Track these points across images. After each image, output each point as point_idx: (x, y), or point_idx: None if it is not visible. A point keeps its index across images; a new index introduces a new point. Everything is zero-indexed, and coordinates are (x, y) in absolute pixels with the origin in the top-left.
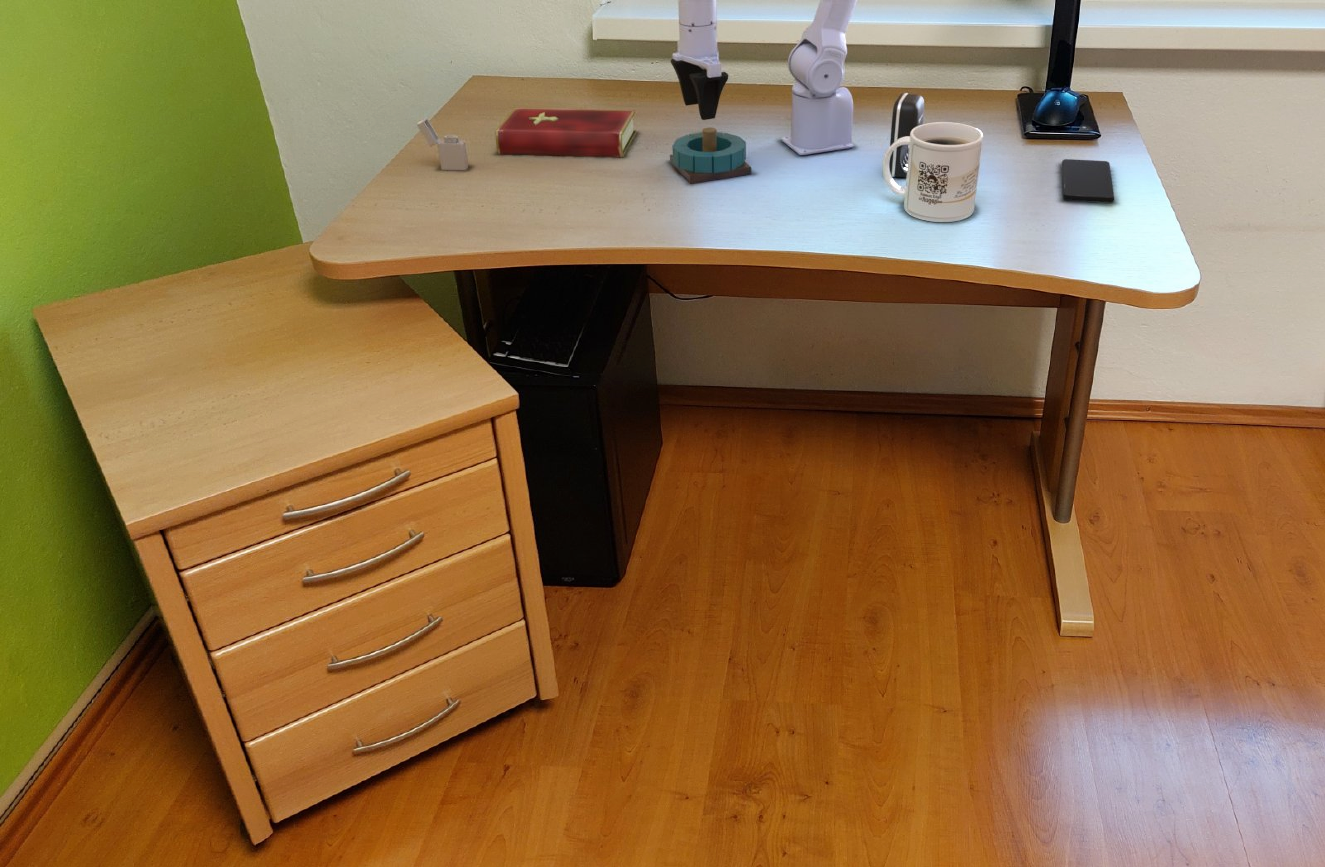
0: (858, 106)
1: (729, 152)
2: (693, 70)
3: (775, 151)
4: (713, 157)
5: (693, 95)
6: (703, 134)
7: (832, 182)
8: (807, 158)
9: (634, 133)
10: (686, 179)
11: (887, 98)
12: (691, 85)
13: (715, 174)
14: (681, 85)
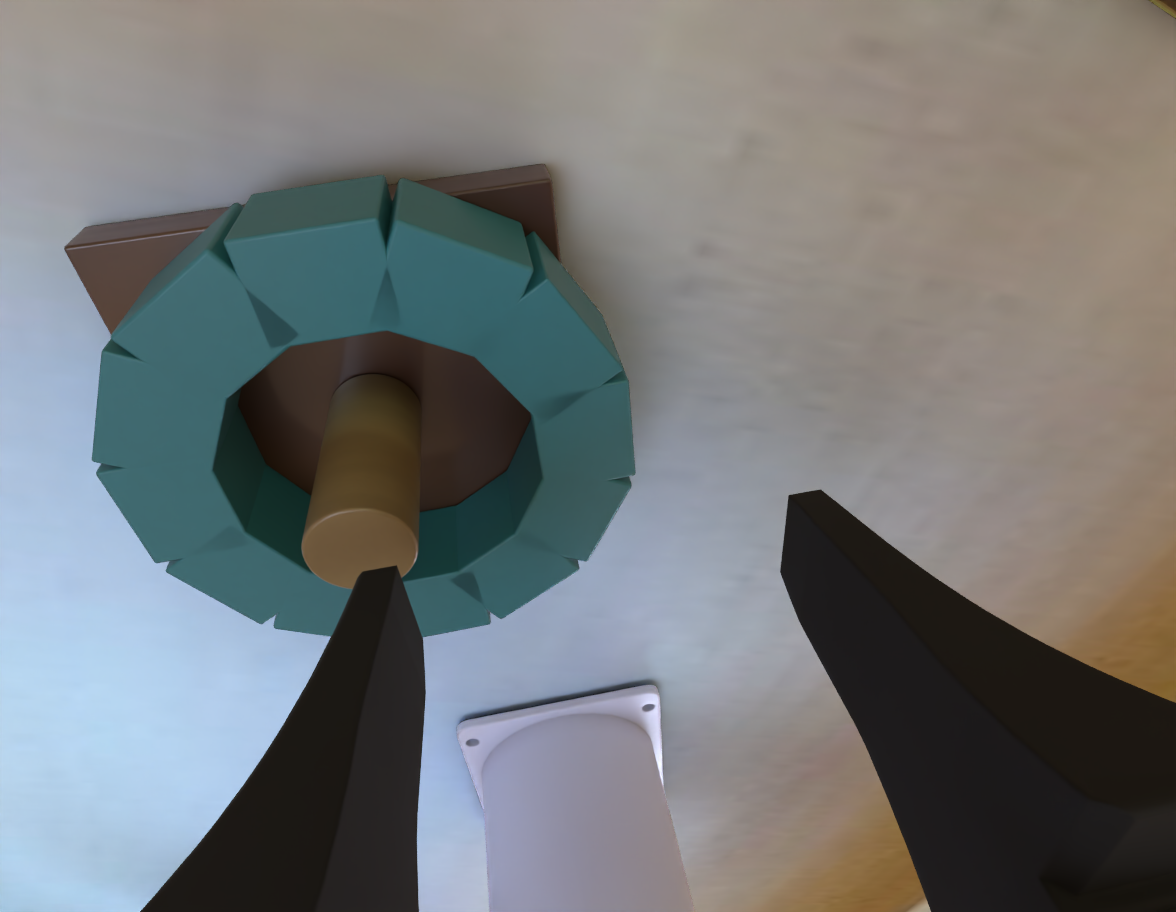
0: (853, 844)
1: (193, 563)
2: (944, 824)
3: (546, 655)
4: (106, 467)
5: (816, 601)
6: (331, 496)
7: (140, 779)
8: (432, 732)
9: (1172, 9)
10: (170, 215)
11: (868, 887)
12: (869, 665)
13: None
14: (905, 602)
